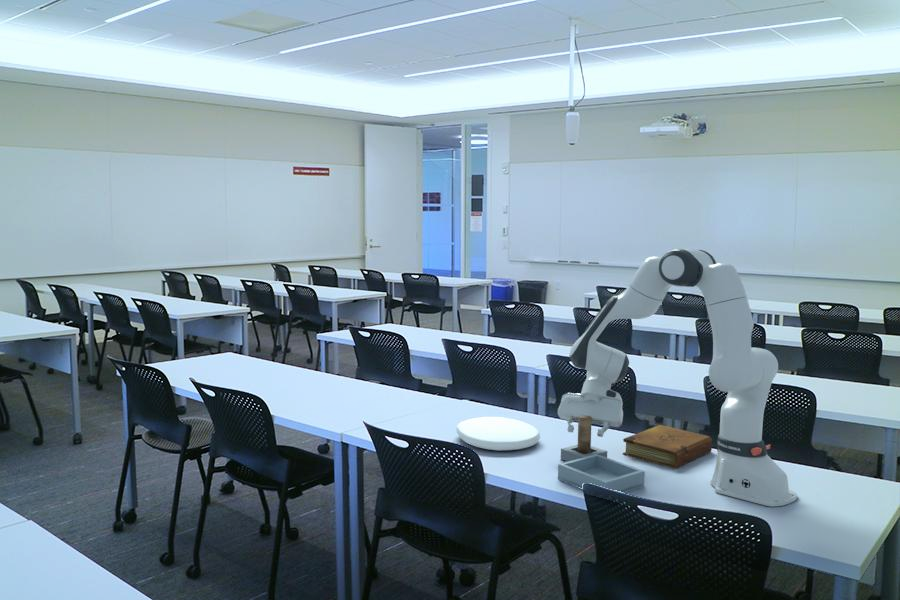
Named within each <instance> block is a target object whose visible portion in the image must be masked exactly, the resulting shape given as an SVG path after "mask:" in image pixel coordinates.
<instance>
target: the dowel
mask: <svg viewBox="0 0 900 600" xmlns="http://www.w3.org/2000/svg"><path fill="white" fill-rule="evenodd" d="M591 422H592V417H591V416H587V415H581V416H578V421H577V424H578V427H577V445H578V449H577V452H579V453H582V454H588V453H591V446H592V423H591Z"/></svg>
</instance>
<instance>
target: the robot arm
mask: <svg viewBox="0 0 900 600" xmlns="http://www.w3.org/2000/svg"><path fill="white" fill-rule="evenodd" d="M672 286H675V287H687V288H688V287H689V288H690V287H691V288H694V287H696V288H698V289H699V290H700V291H701V292H702V295H703V299H704V303H705V307H706V311H707V314H708V320H709V322H710V323H709V324H710V327H711V331H712V343H713V344H712V360H711V363H710V365H709V369H708V378H709V380H710V383H711V384H712V386H714V388H716V390H718V391H720V392H723V393H727V396H726V397H725V401H724V402H723V403H722V405H721V408H720V417H719V418H720V422H719V434H718V435H717V444H716V450H717V458H716V463H715V467H714V468H715V469H714V471H713V474H712V477H711V480H710V484H711V486H713V488H714V489H715V490H714V491H715V492H716V493H717V494H720V495H721V494H722V495H725V496H729V497H733V498H736V499H740V500H744V501H747V502H751V503H754V504H758V505H763V506H767V507H780V506H785V505H789V504H791V503H793V502H795V501H796V500H797V499H798V493H797V492H796V491H794V490H792V489H790V488H789V487H790V486H789V479H788V476H787V474H786V472H785V470H783V469H782V468H781V467H780V466H779V465H778V464H777V463H776V462H775V461H774V460H773V459H772V458H771V457H770V456H769V455H768V451H767V450H770V449H771V445H772V444H767V445H766V444H765V442H764V440H763V438H762V437H763V424H764V423H763V422H764V414H765V413H764V412H765V408H766V404H767V400H768V397H769V394H770V390H771V386H772V383H773V381H774V378H775V377H776V375H777V374H778V371H779V362H778V359H777V358H776V356H775V355H774V354H773V352H771V351H770V350H769V349H768V350H767V349H765V348H761V347H752V332H753V329H754V326H755V325H754V324H755V323H754V318H753V315H752V312H751V308H750V304H749V300H748V297H747V293H746V290H745V287H744V284H743V282H742V278H741V277H740V275H739V272H738V271H737V269H736V267H735V266H733V265H732V264H731V263H727V262H718V263H717V261H716V259H715V257H714V256H713V255H712V254H710V253H709V252H707V251H705V250H702V249H695V248H689V247H688V248H686V247H685V248H675V249H674V248H673V249H672V250H669V251H667V252H665V253H664V255H662V256H656V255H655V256H649V257H647V258H646V259H644V261H643V262H642V263H641V264H640V265H639V267H638V268H637V270H636V272H635V273H634V275H633V276H632V278H631V280H630V282H629V284H628V286H627V288H626V289H625V290H624V291H622V292H621V293H619V294H618V295H612V296H611V297H609V298H608V300H606V302H605V303H604V305H603V306H601V308H600V310H599V311H598V312H597V313H596V315H595V317H594V318H593V319H592V321H590V322H589V324H588V326H587V327H586V328H585V330H584V331H583V333H582V334H581V335H580V336H579V337H578V338H577V340H576V341H575V342H574V343H573V345H572V346H571V348H570V351H569V359H570V361H571V363H572V365H573V366H574V367H575V368H578V369H581V370H584V371H585V370H586V378H585V381H584V382H583V385H582V388H581V392H580V393H578V392H577V393H573V392H566V393H564V394H562V396H561V399H560V404H559V406H558V408H557V415H558V417H559V418H560V419H561V420H565V421H567V425H568V426H567V432H568V433H574V430H575V427H574V425H572V424H573V422H578V416H581V415H587V416H591V417H592V422H591V425H592V424H594V425H600V426H603V427H602V428H598V429H597V433H596V434H597V437H599V438H603V437H604V434H605V433H606V432H607V430H609V429H610V427H613V428H614V427H615V428H619V427H621V426H622V425H623V421H624V419H623V418H624V411H623V399H622V396H621V394H620V393H619V392H617V391H615V390H612V389H611V387H612V384H616V383H619V382H621V381H622V380H624V379H625V378H626V375H627V372H628V370H629V365H630V360H629V357H628V355H627V353H625V352H624V351H621V350H619V349H617V348H614V347H612V346H608V345H606V344H604V343H602V342H598V341H597V339H598V337H599V336H600V335H601V334H602V332H603V331H604V330H605V328H607V325H608V324H609V323H611V322H612V321H615V320H620V319H624V320H626V319H627V320H628V319H629V320H643V319H646V318H649V317H651V316H653V315H655V314H656V312H658V310H659V308H660V306H661V305H662V303H663V301H664V299H665V297H666V296H667V294H668V292H669V290H670V288H671V287H672Z"/></svg>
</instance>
